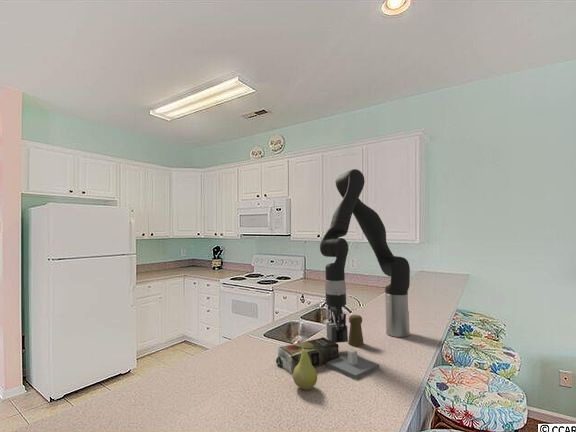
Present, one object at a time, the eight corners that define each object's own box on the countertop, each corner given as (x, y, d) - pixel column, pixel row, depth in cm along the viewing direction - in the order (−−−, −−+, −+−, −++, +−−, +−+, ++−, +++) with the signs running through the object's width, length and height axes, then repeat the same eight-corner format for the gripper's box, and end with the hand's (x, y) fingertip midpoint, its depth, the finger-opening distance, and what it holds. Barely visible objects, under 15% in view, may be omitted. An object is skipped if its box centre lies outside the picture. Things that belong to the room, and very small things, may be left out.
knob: (342, 336, 116) (341, 320, 116) (347, 341, 110) (347, 325, 111) (326, 337, 115) (326, 321, 115) (331, 343, 109) (331, 326, 110)
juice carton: (288, 375, 94) (288, 354, 94) (274, 364, 102) (274, 345, 103) (339, 362, 104) (339, 343, 104) (322, 353, 112) (322, 336, 113)
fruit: (301, 397, 81) (300, 350, 82) (287, 385, 87) (287, 342, 88) (321, 390, 84) (321, 346, 85) (307, 379, 91) (306, 338, 91)
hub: (350, 356, 107) (349, 341, 108) (379, 368, 98) (379, 351, 98) (326, 366, 100) (326, 349, 100) (355, 379, 90) (355, 361, 91)
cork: (364, 347, 117) (363, 317, 117) (348, 345, 118) (347, 316, 119) (363, 341, 123) (362, 313, 123) (348, 340, 124) (347, 313, 125)
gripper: (320, 289, 120) (321, 332, 119) (331, 296, 106) (333, 345, 105) (338, 288, 121) (340, 331, 120) (352, 295, 107) (354, 344, 106)
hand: (337, 337), depth 113 cm, fingers closed on knob, 6 cm apart
